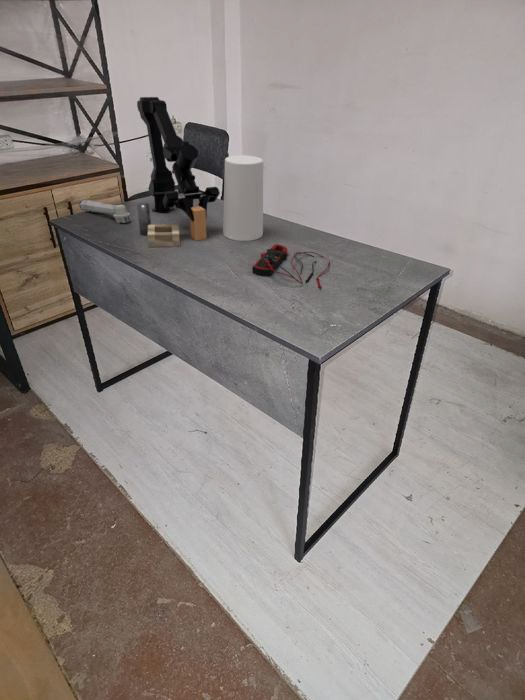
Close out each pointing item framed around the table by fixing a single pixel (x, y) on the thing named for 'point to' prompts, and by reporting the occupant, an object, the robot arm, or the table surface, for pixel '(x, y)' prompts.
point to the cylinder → (243, 198)
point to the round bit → (144, 217)
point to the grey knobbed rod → (106, 209)
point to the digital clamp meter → (273, 260)
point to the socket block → (163, 235)
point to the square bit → (198, 223)
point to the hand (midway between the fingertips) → (199, 220)
